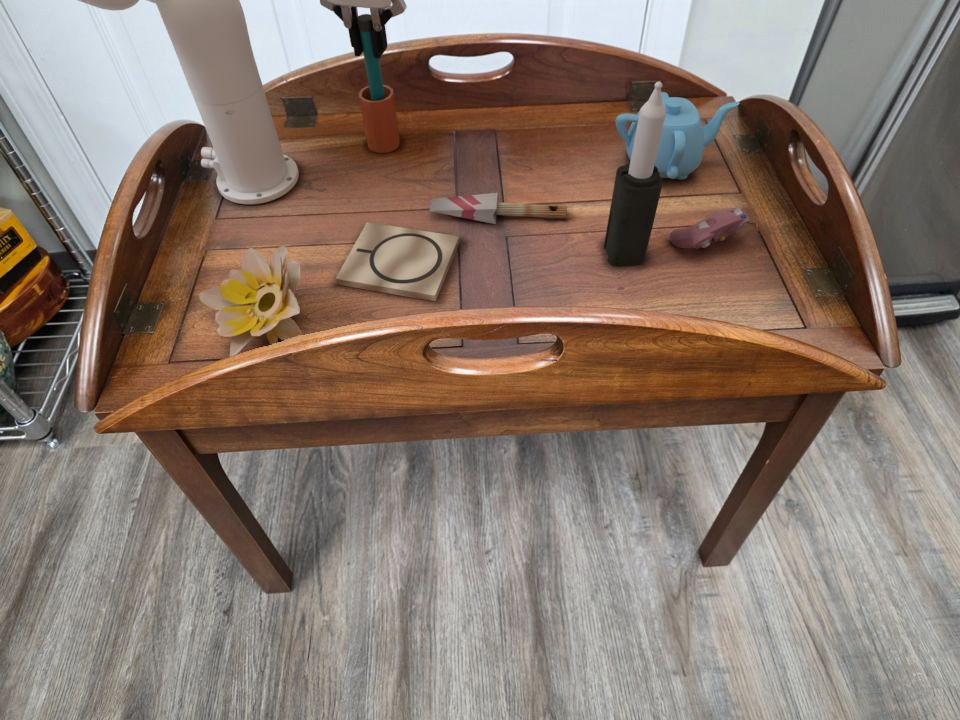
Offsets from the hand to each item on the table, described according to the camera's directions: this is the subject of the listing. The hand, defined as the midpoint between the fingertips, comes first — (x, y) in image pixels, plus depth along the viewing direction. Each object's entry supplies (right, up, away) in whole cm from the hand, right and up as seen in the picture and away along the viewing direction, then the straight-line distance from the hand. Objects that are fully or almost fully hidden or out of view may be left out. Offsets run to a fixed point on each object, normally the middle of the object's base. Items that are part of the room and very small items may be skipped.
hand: (370, 52), depth 96 cm
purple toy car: (+48, -29, -5) cm, 57 cm away
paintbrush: (+19, -25, 0) cm, 31 cm away
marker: (0, -5, +7) cm, 9 cm away
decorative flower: (-12, -41, -12) cm, 44 cm away
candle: (+36, -31, -6) cm, 48 cm away
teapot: (+46, -15, +7) cm, 49 cm away
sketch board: (+5, -32, -6) cm, 33 cm away
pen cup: (0, -10, +12) cm, 15 cm away
